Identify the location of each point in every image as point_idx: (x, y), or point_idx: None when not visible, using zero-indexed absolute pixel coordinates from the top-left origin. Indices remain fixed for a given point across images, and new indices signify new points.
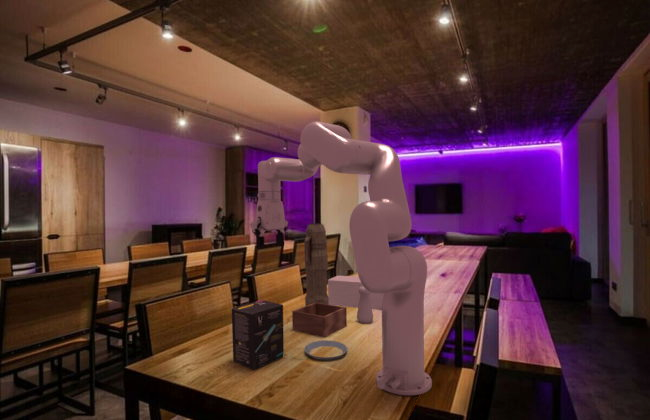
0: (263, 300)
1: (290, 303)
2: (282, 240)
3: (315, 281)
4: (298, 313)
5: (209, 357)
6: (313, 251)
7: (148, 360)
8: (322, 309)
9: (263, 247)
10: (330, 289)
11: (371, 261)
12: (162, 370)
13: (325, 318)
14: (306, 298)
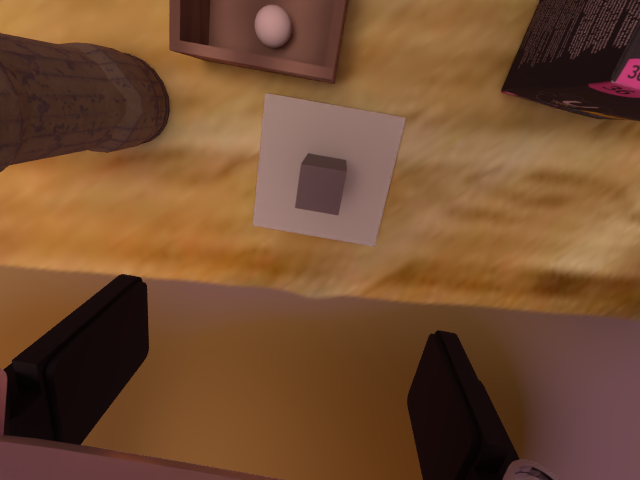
0: (629, 63)
1: (78, 256)
2: (107, 312)
3: (58, 76)
4: (338, 43)
5: (584, 197)
6: None
7: (622, 313)
8: (190, 5)
9: (453, 335)
10: None
11: None
12: None
13: None
14: (129, 133)
